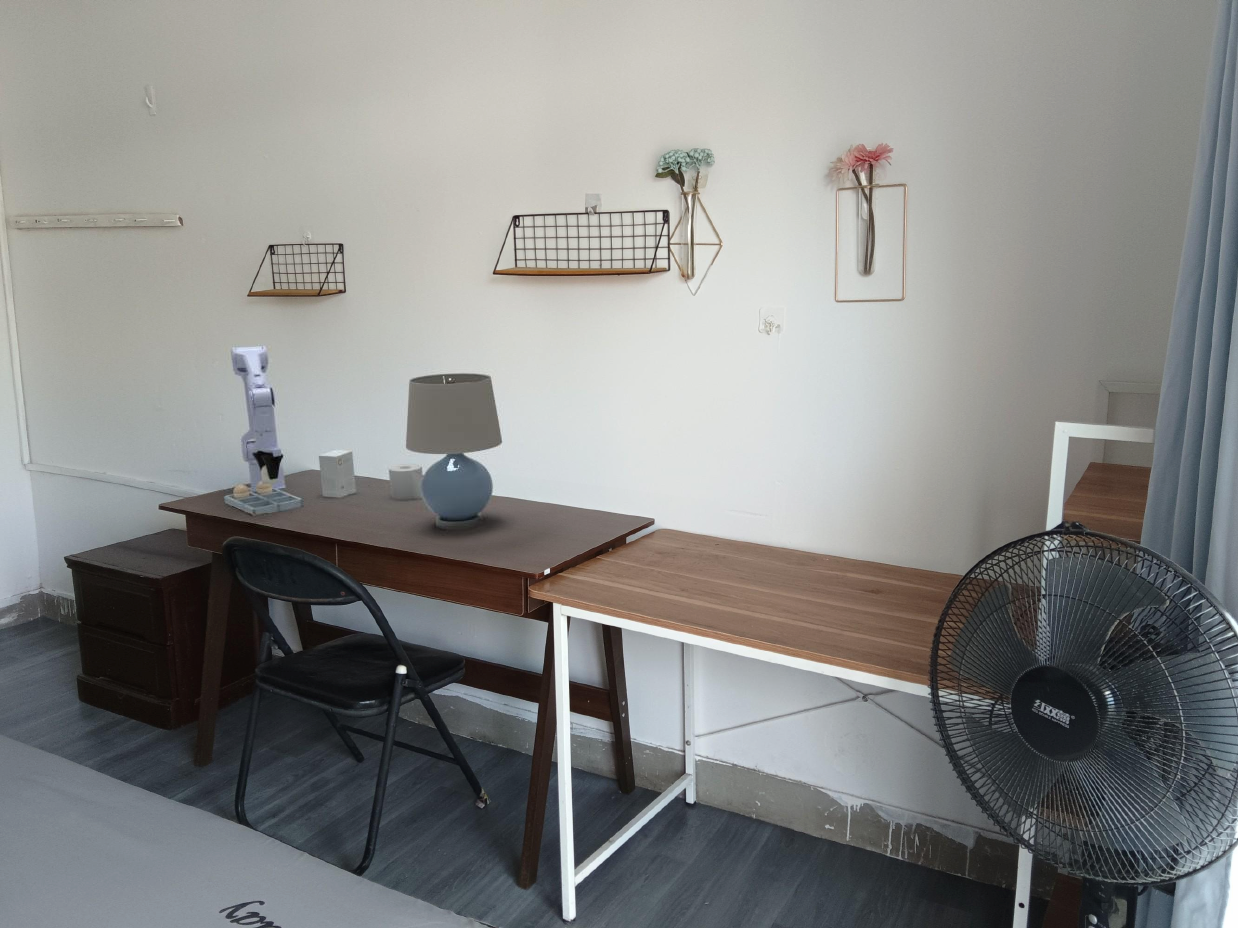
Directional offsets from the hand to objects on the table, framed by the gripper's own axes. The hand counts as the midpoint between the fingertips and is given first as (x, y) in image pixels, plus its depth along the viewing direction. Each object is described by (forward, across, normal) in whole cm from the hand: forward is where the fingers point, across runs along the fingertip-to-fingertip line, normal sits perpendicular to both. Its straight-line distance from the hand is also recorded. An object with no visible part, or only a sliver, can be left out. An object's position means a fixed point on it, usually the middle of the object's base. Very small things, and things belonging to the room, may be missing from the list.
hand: (270, 477), depth 265 cm
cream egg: (+1, 0, 0) cm, 1 cm away
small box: (+9, 0, +20) cm, 22 cm away
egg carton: (+9, -4, -1) cm, 10 cm away
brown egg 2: (+8, -11, +2) cm, 14 cm away
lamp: (+9, +52, +28) cm, 60 cm away
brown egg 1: (+8, -11, -4) cm, 15 cm away
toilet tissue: (+9, +17, +35) cm, 40 cm away
